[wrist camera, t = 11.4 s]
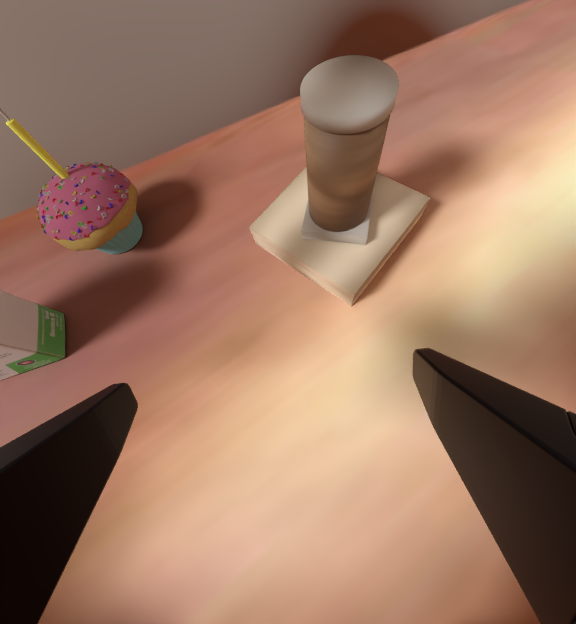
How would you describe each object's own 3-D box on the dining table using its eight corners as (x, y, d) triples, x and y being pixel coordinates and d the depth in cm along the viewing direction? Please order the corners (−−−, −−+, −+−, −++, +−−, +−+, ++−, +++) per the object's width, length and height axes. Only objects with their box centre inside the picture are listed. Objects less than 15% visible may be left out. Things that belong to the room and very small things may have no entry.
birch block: (419, 220, 26) (430, 197, 23) (350, 308, 24) (354, 294, 21) (324, 173, 29) (324, 148, 27) (257, 246, 27) (249, 227, 24)
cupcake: (79, 224, 31) (-63, 115, 19) (149, 190, 31) (49, 65, 20) (94, 285, 28) (-64, 197, 16) (171, 246, 28) (69, 135, 17)
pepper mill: (371, 194, 24) (404, 53, 15) (365, 244, 22) (397, 121, 13) (312, 189, 25) (307, 54, 16) (302, 238, 23) (289, 118, 14)
